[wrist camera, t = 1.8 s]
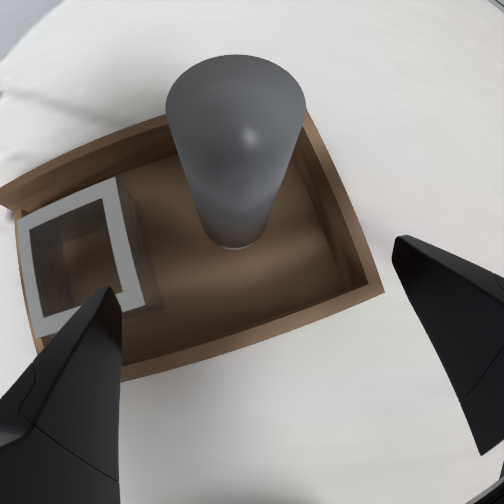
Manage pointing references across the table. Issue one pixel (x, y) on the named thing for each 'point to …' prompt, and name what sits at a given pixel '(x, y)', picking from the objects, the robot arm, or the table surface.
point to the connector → (235, 141)
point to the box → (208, 249)
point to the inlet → (74, 227)
